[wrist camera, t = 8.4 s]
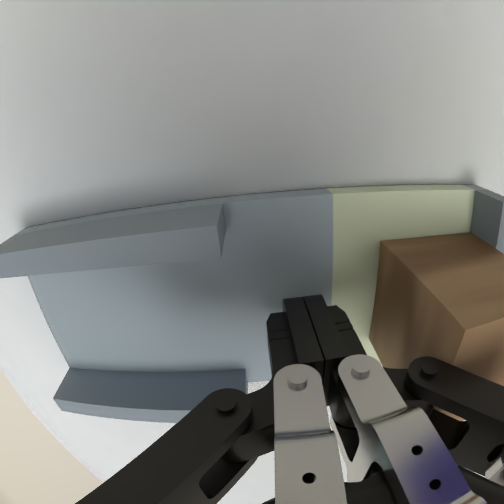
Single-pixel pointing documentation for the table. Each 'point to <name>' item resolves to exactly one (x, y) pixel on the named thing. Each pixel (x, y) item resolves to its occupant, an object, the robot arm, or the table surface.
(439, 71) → the table surface
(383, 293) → the block
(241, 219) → the chute
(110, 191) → the table surface
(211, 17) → the table surface
